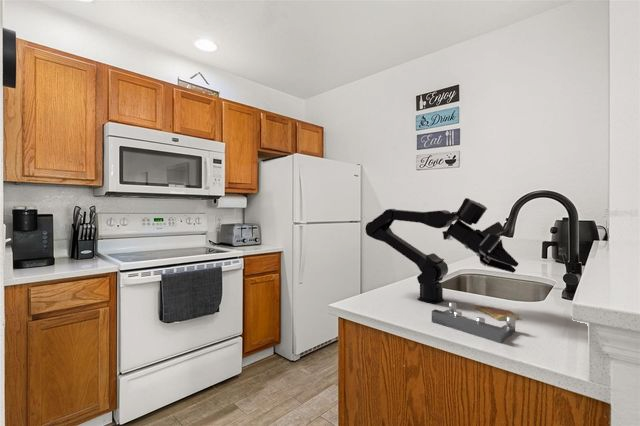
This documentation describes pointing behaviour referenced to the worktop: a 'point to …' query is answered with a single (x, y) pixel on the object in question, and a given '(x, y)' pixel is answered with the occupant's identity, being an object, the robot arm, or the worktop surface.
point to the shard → (496, 312)
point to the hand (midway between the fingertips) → (516, 268)
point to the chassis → (473, 324)
